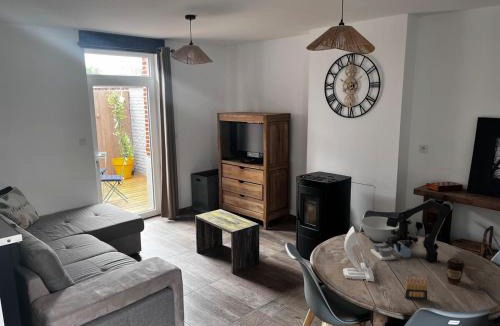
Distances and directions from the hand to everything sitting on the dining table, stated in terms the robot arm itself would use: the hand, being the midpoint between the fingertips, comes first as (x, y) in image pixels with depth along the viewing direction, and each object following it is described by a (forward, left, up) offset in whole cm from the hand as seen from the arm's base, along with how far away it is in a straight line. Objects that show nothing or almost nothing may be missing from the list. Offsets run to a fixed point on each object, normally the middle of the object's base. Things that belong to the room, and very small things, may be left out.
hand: (401, 251), depth 238 cm
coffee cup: (-39, -7, -1) cm, 40 cm away
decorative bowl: (+25, +2, -1) cm, 25 cm away
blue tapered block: (0, 0, -1) cm, 1 cm away
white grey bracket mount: (0, +14, -1) cm, 14 cm away
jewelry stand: (-16, +40, -1) cm, 43 cm away
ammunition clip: (-49, +23, -1) cm, 54 cm away
